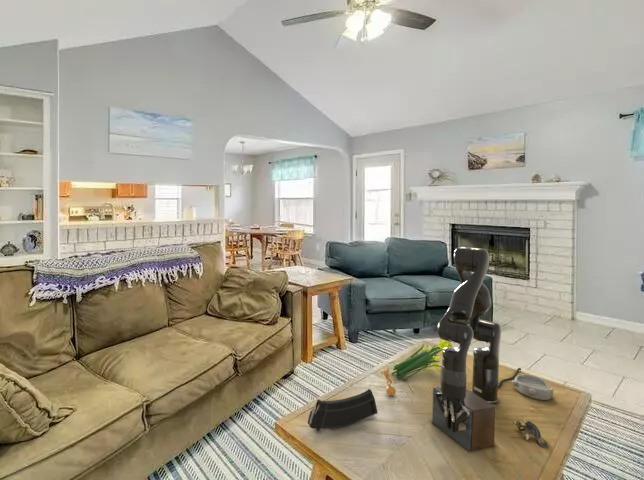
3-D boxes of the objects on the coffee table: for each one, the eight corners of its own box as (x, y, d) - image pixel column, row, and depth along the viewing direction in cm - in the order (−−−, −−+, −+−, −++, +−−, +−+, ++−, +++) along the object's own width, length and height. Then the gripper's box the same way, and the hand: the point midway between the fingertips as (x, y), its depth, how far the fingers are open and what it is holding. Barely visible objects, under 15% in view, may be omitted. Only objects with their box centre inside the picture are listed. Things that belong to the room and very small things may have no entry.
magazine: (377, 388, 149) (317, 380, 138) (383, 393, 146) (323, 384, 135) (366, 431, 148) (305, 427, 137) (372, 436, 145) (310, 432, 134)
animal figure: (510, 433, 135) (539, 443, 127) (512, 412, 138) (541, 421, 130) (521, 440, 138) (550, 450, 130) (523, 419, 140) (552, 429, 133)
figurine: (401, 399, 158) (402, 371, 158) (389, 401, 156) (390, 373, 156) (388, 389, 166) (388, 363, 166) (376, 391, 164) (377, 364, 164)
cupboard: (471, 450, 127) (472, 410, 127) (434, 422, 143) (435, 386, 142) (494, 445, 130) (495, 406, 130) (455, 418, 146) (457, 383, 145)
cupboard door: (456, 453, 126) (457, 413, 125) (420, 424, 141) (421, 388, 141) (470, 450, 127) (472, 411, 127) (434, 422, 143) (435, 386, 142)
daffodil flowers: (380, 369, 187) (432, 342, 198) (402, 396, 176) (455, 366, 187) (388, 350, 177) (442, 323, 188) (412, 378, 166) (467, 347, 177)
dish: (535, 384, 172) (535, 373, 172) (562, 401, 159) (563, 389, 158) (504, 384, 172) (505, 373, 172) (529, 401, 158) (530, 389, 158)
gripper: (480, 388, 121) (478, 440, 122) (446, 369, 135) (444, 416, 135) (461, 391, 119) (459, 444, 120) (428, 371, 133) (427, 419, 133)
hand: (451, 429), depth 127 cm, fingers closed
